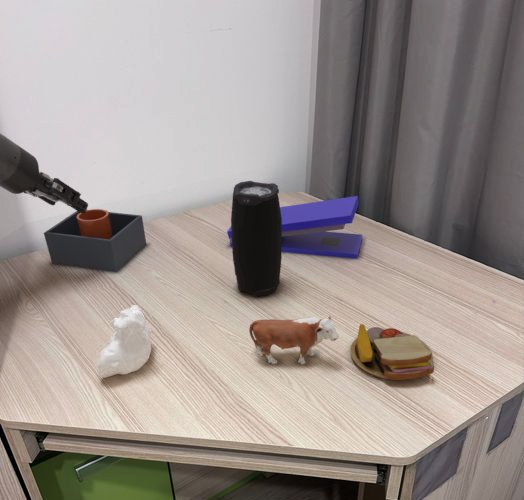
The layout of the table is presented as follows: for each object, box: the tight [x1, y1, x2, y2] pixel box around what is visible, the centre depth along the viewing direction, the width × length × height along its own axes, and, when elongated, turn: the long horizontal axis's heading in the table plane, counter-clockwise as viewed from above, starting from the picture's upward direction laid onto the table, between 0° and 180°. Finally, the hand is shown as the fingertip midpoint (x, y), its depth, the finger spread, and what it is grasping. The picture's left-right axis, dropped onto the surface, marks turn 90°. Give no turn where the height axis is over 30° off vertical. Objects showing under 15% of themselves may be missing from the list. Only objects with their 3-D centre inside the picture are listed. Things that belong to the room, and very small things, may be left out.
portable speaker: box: [230, 180, 283, 298], centre depth 97 cm, size 9×9×20 cm
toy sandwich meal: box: [349, 323, 435, 381], centre depth 82 cm, size 12×14×5 cm
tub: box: [43, 210, 147, 273], centre depth 113 cm, size 15×13×7 cm
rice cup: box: [77, 208, 113, 240], centre depth 113 cm, size 6×6×8 cm
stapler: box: [226, 195, 363, 260], centre depth 115 cm, size 12×28×10 cm, turn 76°
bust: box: [96, 304, 153, 378], centre depth 81 cm, size 12×8×11 cm
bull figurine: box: [248, 315, 340, 365], centre depth 82 cm, size 4×13×8 cm, turn 81°
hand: (69, 204), depth 105 cm, fingers open, 8 cm apart
